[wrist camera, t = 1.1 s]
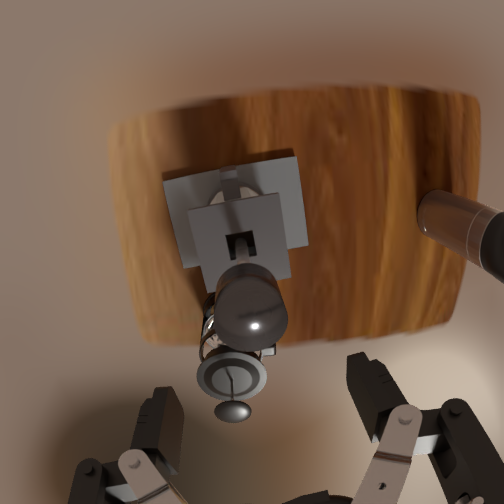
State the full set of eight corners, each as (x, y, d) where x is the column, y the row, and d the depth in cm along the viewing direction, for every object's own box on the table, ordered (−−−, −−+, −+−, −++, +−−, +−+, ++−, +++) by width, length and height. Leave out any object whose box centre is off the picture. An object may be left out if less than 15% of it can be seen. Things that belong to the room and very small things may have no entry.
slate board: (294, 156, 43) (296, 156, 42) (306, 242, 48) (308, 245, 47) (164, 180, 43) (162, 181, 42) (184, 265, 48) (183, 268, 47)
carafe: (260, 158, 42) (275, 164, 28) (273, 237, 46) (292, 278, 32) (196, 170, 42) (179, 182, 28) (213, 248, 46) (206, 294, 32)
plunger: (258, 219, 31) (283, 283, 17) (265, 258, 32) (291, 344, 18) (216, 227, 31) (205, 297, 17) (224, 266, 32) (222, 356, 18)
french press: (203, 335, 53) (193, 437, 31) (196, 289, 50) (177, 388, 28) (267, 330, 54) (288, 431, 32) (266, 285, 50) (291, 381, 29)
